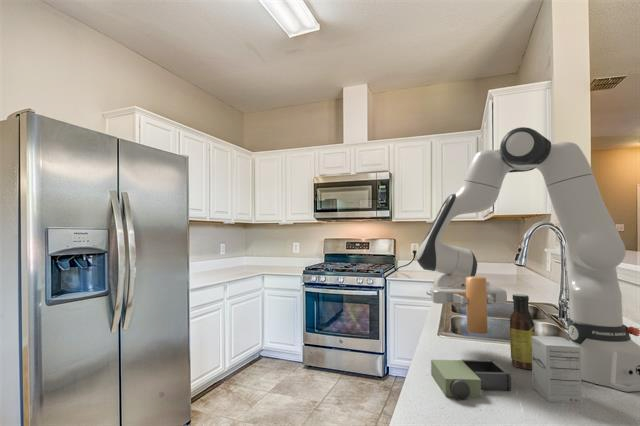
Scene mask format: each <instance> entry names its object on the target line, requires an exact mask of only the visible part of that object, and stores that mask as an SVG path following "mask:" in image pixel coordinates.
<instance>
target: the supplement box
mask: <svg viewBox="0 0 640 426" xmlns="http://www.w3.org/2000/svg"><path fill="white" fill-rule="evenodd" d="M531 370H532V372H531V373H532V388H534V389H535V391H537V392H538V393H539V394H540V395H541V396H542V397H543V398H544V399H545V400H546V401H547V402H548V403H559V404H560V403H562V404H577V405H578V404H579V405H580V404H583V391H582V390H583V387H582V379H581V351H580V347H579V346H577V345H575V344H573V343H572V342H570V340H568V339H566V338H564V337H563V336H550V335H549V336H547V335H546V336H545V335H543V336H542V335H535V336H532V369H531Z"/></svg>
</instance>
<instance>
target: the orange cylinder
mask: <svg viewBox="0 0 640 426" xmlns="http://www.w3.org/2000/svg"><path fill="white" fill-rule="evenodd" d="M486 282H487V278H486V277H483V276H475V277H474V276H470V277H466V297H468V304H466V307H465V309H466V310H465V311H466V331H467V332H469V333H473V334H477V335H478V334H479V335H480V334H481V335H484V334H488V332H489V330H488V304H487V288H486Z"/></svg>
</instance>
